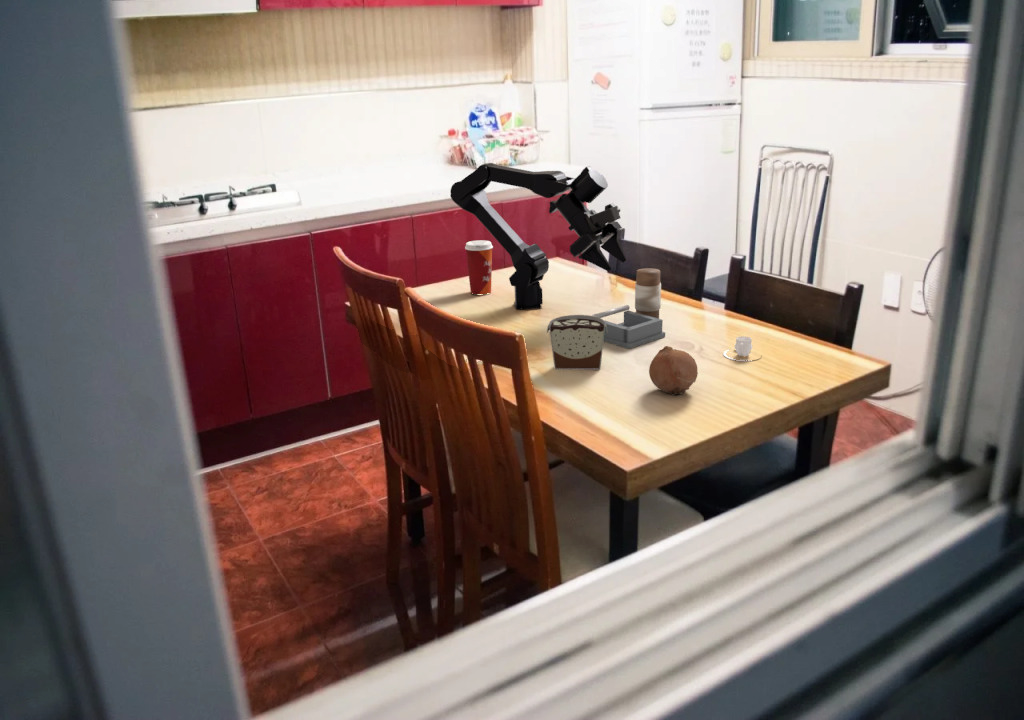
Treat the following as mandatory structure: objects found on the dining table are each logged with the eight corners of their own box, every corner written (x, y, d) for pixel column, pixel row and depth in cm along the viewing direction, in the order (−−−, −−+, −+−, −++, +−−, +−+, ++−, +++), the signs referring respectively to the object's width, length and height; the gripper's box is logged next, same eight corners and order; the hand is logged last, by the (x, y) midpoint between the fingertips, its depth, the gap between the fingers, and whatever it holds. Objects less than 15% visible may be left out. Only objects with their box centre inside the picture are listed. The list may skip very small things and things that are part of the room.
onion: (657, 400, 162) (644, 352, 162) (702, 388, 160) (690, 340, 160) (655, 401, 153) (642, 351, 153) (703, 389, 151) (690, 338, 152)
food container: (607, 359, 176) (607, 313, 172) (607, 369, 170) (607, 322, 167) (549, 359, 177) (548, 314, 174) (547, 369, 171) (546, 323, 168)
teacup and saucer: (737, 347, 181) (738, 329, 180) (771, 355, 176) (772, 336, 175) (715, 357, 176) (716, 339, 174) (749, 366, 170) (750, 347, 169)
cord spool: (638, 326, 196) (639, 274, 192) (632, 319, 202) (632, 268, 198) (663, 324, 197) (664, 273, 192) (656, 317, 202) (657, 267, 198)
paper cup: (494, 296, 225) (492, 245, 221) (466, 297, 226) (463, 246, 221) (495, 288, 233) (493, 239, 228) (468, 289, 233) (465, 240, 228)
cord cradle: (589, 336, 190) (589, 314, 188) (626, 325, 197) (627, 304, 196) (628, 349, 181) (628, 326, 180) (665, 336, 188) (666, 314, 187)
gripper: (583, 199, 188) (626, 253, 187) (615, 187, 203) (655, 237, 202) (551, 230, 194) (593, 282, 193) (585, 216, 209) (623, 265, 208)
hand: (617, 265), depth 199 cm, fingers open, 9 cm apart
